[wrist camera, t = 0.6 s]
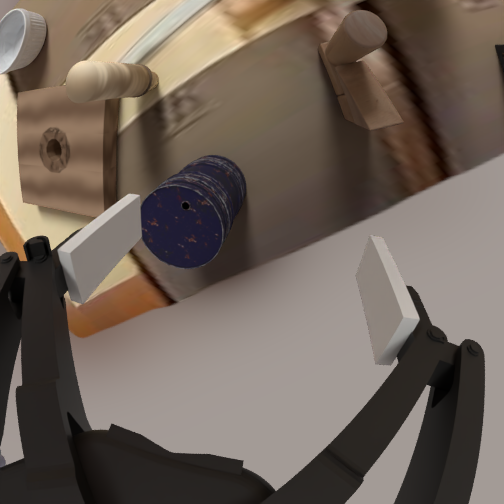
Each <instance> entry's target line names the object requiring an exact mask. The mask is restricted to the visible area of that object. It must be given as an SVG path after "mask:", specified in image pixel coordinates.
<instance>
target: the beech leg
mask: <svg viewBox="0 0 504 504" xmlns="http://www.w3.org/2000/svg"><path fill="white" fill-rule="evenodd" d="M157 84H158V76H157V74H156V73H154V72H151V71H150V69H149V68H148V67H147V66H145V65H141V64H126V63H115V62H101V61H81V62H78V63H77V64H75V65H74V66H73V67H72V68H71V70H70V71H69V73H68V75H67V78H66V85H65V87H66V93H67V96H68V97H69V99H70V100H71V101H73V102H75V103H84V102H91V101H98V100H106V99H115V98H125V97H140V96H142V95H144V94H145V93H146V92H147V91H150V90H153V89H154V88H155V87H156V86H157Z"/></svg>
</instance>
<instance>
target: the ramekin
mask: <svg viewBox="0 0 504 504" xmlns="http://www.w3.org/2000/svg"><path fill="white" fill-rule="evenodd" d="M45 37H46V22H45V20H44V18H43V17H42V16H41V15H39V14H37V13H34V12H30V11H26V10H25V9H13V10H11V11H10V12H8V13H7V14H6V15H5V16H4V17H3V19H2V20H1V21H0V74H5V73H8V72H9V71H13V70H17V69H20V68H23V67H26V66H27V65H29V64H30V63H31V62H32V61H33V60H34V59H35V58H36V57H37V55H38V54H39V52H40V51H41V49H42V46H43V44H44V41H45Z"/></svg>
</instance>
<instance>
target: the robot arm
mask: <svg viewBox="0 0 504 504" xmlns="http://www.w3.org/2000/svg"><path fill="white" fill-rule="evenodd" d="M141 237H142V230H141V210H140V195H135V194H128V195H126V196H125V197H124V198H122V199H121V200H120V201H118V202H117V203H115V204H114V205H113V206H111V207H110V208H109V209H107V210H106V211H105V212H103V213H102V214H101V215H100V216H98V217H97V218H96V219H94V220H93V221H92V222H91V223H89V224H88V225H87V226H85V227H83V228H81V229H79V230H77V231H75V232H74V233H73V234H71V235H70V236H69V237H68V238H66V239H65V240H64V241H63V242H62V243H60V244H59V245H58V246H57V247H56V248H55V249H53V250H52V251H51V248H50V244H49V239H48V237H46V236H36V237H33V238H31V239H29V240H27V241H26V242H25V244H24V245H23V247H24V251H25V254H26V258H27V261H20V260H19V257H18V254H17V253H16V252H6V253H4V254H2V256H0V445H1V441H2V436H3V431H4V425H5V417H6V409H7V402H8V395H9V390H10V384H11V379H12V374H13V369H14V364H15V360H16V356H17V352H18V348H19V344H20V340H21V363H22V386H18V387H17V388H16V404H17V415H18V423H19V430H20V437H21V442H22V449H23V454H24V458H23V459H21V460H18V461H16V462H13V463H11V464H8V465H6V466H5V459H4V457H3V456H2V455H1V450H0V504H345V502H346V501H347V500H348V499H349V498H350V497H351V496H352V495H353V494H354V493H355V492H356V490H357V489H358V488H359V487H360V485H361V484H362V482H363V481H364V480H363V477H364V476H365V474H366V473H367V472H368V471H369V469H370V468H371V467H372V466H373V464H374V463H375V462H376V460H377V459H378V458H379V457H380V455H381V454H382V453H383V451H384V450H385V449H386V447H387V446H388V445H389V443H390V442H391V440H392V439H393V438H394V436H395V435H396V433H397V432H398V430H399V429H400V427H401V426H402V424H403V423H404V421H405V420H406V418H407V417H408V415H409V413H410V412H411V410H412V408H413V407H414V405H415V404H416V402H417V400H418V399H419V397H420V395H421V394H422V392H423V390H424V388H425V387H426V385H429V386H431V388H430V393H429V397H428V402H427V406H426V410H425V415H424V419H423V422H422V426H421V430H420V433H419V437H418V440H417V443H416V446H415V450H414V453H413V456H412V459H411V462H410V465H409V467H408V470H407V473H406V476H405V478H404V481H403V483H402V486H401V488H400V491H399V493H398V495H397V498H396V500H395V503H394V504H468V503H469V500H470V496H471V492H472V487H473V483H474V478H475V474H476V468H477V463H478V457H479V450H480V443H481V435H482V426H483V413H484V395H485V360H484V352H483V349H482V348H481V346H480V345H479V344H478V343H477V342H475V341H473V340H470V339H465V340H464V341H463V342H462V343H461V345H460V346H457V345H455V344H452V343H449V342H447V341H448V340H447V337H446V335H445V334H444V332H443V331H441V330H440V329H439V328H438V327H436V326H433V325H432V324H431V322H430V319H429V317H428V315H427V312H426V310H425V308H424V306H423V303H422V302H421V299H420V297H419V295H418V293H417V292H416V291H415V290H414V289H413V287H411V286H406V285H405V283H404V281H403V279H402V276H401V274H400V272H399V270H398V268H397V266H396V264H395V262H394V260H393V257H392V255H391V254H390V252H389V249H388V247H387V246H386V244H385V242H384V240H383V238H382V237H378V236H373V235H370V237H369V240H368V243H367V246H366V249H365V252H364V255H363V257H362V260H361V263H360V266H359V268H358V271H357V274H356V279H357V282H358V287H359V291H360V295H361V299H362V303H363V307H364V312H365V316H366V320H367V325H368V330H369V334H370V339H371V344H372V349H373V354H374V360H375V364H379V365H391V364H392V363H393V361H394V360H395V358H396V357H397V359H398V364H397V366H396V367H395V369H394V370H393V371H392V373H391V374H390V375H389V377H388V378H387V379H386V380H385V382H384V383H383V384H382V386H381V387H380V388H379V389H378V391H377V392H376V393H375V394H374V396H373V397H372V398H371V399H370V400H369V402H368V403H367V404H366V405H365V406H364V408H363V409H362V410H361V411H360V412H359V413H358V414H357V415H356V417H355V418H354V419H353V420H352V421H351V422H350V423H349V424H348V425H347V426H346V427H345V429H344V430H343V431H342V432H341V433H340V434H339V435H338V436H337V437H336V438H335V439H334V440H333V441H332V442H331V443H330V444H329V445H328V446H327V447H326V448H325V449H324V450H323V451H322V452H321V453H319V454H318V455H317V456H316V457H315V458H314V459H313V460H312V461H311V462H310V463H309V464H308V465H307V466H305V467H304V468H303V469H302V470H301V471H300V472H299V473H298V474H297V475H295V476H294V477H293V478H292V479H291V480H289V481H288V482H287V483H286V484H285V485H283V486H282V487H281V488H280V489H278V490H277V491H275V489H274V488H273V487H272V486H271V485H270V484H269V483H268V482H267V481H265V480H264V479H263V478H262V477H260V476H259V475H257V474H255V473H254V472H252V471H250V470H247V469H245V468H243V467H242V466H243V461H242V460H236V459H231V458H226V457H221V456H216V455H211V454H185V453H172V452H169V451H167V450H166V449H164V448H162V447H161V446H159V445H157V444H155V443H154V442H152V441H150V440H149V439H147V438H146V437H144V436H142V435H141V434H138V433H135V432H132V431H130V430H127V429H124V428H122V427H119V426H117V425H114V424H111V426H110V429H109V430H92V429H91V427H90V425H89V423H88V420H87V418H86V414H85V411H84V407H83V403H82V399H81V395H80V391H79V386H78V382H77V377H76V372H75V367H74V361H73V356H72V350H71V344H70V337H69V329H68V321H67V312H66V302H65V298H64V294H65V293H66V292H67V291H68V292H69V295H70V299H71V300H72V301H75V302H78V303H81V304H84V302H85V301H86V300H87V299H88V298H89V296H90V295H91V294H92V293H93V292H94V290H95V289H96V288H97V287H98V286H99V284H100V283H101V282H102V281H103V280H104V279H105V277H106V276H107V275H108V274H109V273H110V272H111V270H112V269H113V268H114V267H115V266H116V265H117V264H118V263H119V261H120V260H121V259H122V258H123V257H124V256H125V255H126V254H127V253H128V251H129V250H130V249H131V248H132V247H133V246H134V245H135V244H136V243H137V242H138V241H139V239H140V238H141ZM8 297H9V298H8Z"/></svg>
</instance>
